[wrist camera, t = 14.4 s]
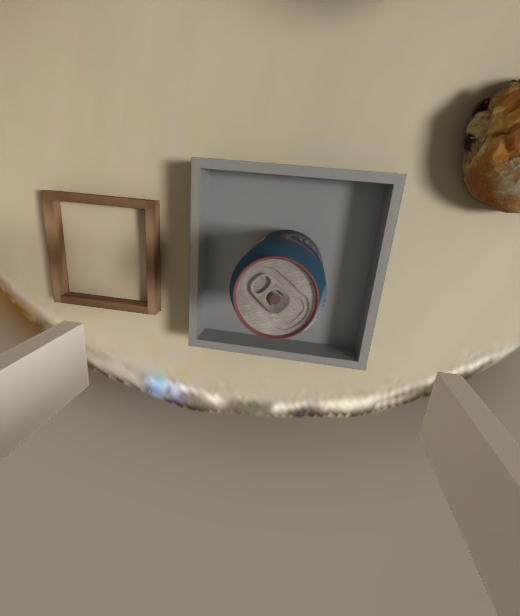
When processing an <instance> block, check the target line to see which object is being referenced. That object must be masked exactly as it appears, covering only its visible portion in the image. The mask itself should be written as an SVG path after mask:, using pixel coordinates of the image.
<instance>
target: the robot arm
mask: <svg viewBox="0 0 520 616" xmlns="http://www.w3.org/2000/svg"><path fill="white" fill-rule="evenodd" d="M87 369H88V368H87V358H86V348H85V338H84V327H83V323H79V322H72V321H63V322H61V323H59V324H57V325H55V326H53V327H51V328H49V329H47V330H45V331H44V332H42V333H40V334H38V335H36V336H34V337H32V338H30V339H29V340H26V341H25V342H22V343H21V344H19V345H17V346H15V347H13V348H11V349H9V350H7V351H5V352H3V353H1V354H0V462H1V461H2V460H3V459H4V458H5V457H7V456H8V455H9V454H10V453H11V452H12V451H14V450H15V449H16V448H17V447H18V446H19V445H20V444H22V443H23V442H24V441H25V440H26V439H27V438H28V437H30V436H31V435H32V434H33V433H34V432H35V431H37V430H38V429H39V428H40V427H41V426H42V425H44V424H45V423H46V422H47V421H48V420H49V419H50V418H51V417H53V416H54V415H55V414H56V413H57V412H58V411H60V409H62V408H63V407H64V406H65V405H67V404H68V403H69V402H70V401H71V400H72V399H73V398H75V397H76V396H77V395H78V394H79V393H80V392H81V391H83V390H84V389H85V388H86V387H87V386H88V385H89V379H88V370H87ZM419 439H420V441H421V443H422V446H423V448H424V450H425V452H426V454H427V457H428V459H429V461H430V464H431V466H432V468H433V470H434V473H435V475H436V477H437V479H438V482H439V484H440V486H441V488H442V490H443V493H444V495H445V497H446V500H447V502H448V504H449V506H450V509H451V511H452V513H453V515H454V518H455V520H456V522H457V524H458V527H459V529H460V531H461V533H462V536H463V538H464V540H465V542H466V545H467V547H468V549H469V551H470V553H471V556H472V558H473V560H474V563H475V565H476V567H477V570H478V572H479V574H480V576H481V578H482V581H483V583H484V585H485V588H486V590H487V592H488V594H489V596H490V599H491V601H492V603H493V605H494V608H495V610H496V612H497V615H498V616H520V446H519V445H518V444H517V442H516V441H515V440H514V439H513V438H512V436H511V435H510V434H509V433H508V432H507V430H506V429H505V428H504V427H503V425H502V424H501V423H500V422H499V421H498V419H497V418H496V417H495V416H494V415H493V413H492V412H491V411H490V410H489V408H488V407H487V406H486V405H485V404H484V402H483V401H482V400H481V399H480V398H479V397H478V395H477V394H476V393H475V392H474V390H473V389H472V388H471V387H470V386H469V384H468V383H467V382H466V381H465V379H464V378H463V377H462V376H461V375H457V374H450V373H443V372H437V376H436V379H435V382H434V386H433V389H432V393H431V396H430V400H429V403H428V406H427V410H426V414H425V417H424V420H423V424H422V427H421V430H420V434H419Z"/></svg>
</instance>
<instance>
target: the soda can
mask: <svg viewBox="0 0 520 616" xmlns="http://www.w3.org/2000/svg"><path fill="white" fill-rule="evenodd" d="M230 299H231V303H232V306H233V308H234V310H235V312H236V314H237V316H238V318H239V320H240V321H241V322H242V324H243V325H244V326H245V327H246V328H247V329H249V330H250V331H251V332H253V333H255V334H256V335H258V336H261V337H264V338H268V339H286V338H290V337H293V336H295V335H297V334H299V333H301V332H303V331H305V330H306V329H308V328H309V327H310V326H312V325H313V324H314V323H315V322H316V320H317V319H318V318H319V316H320V315H321V313H322V311H323V309H324V306H325V303H326V299H327V284H326V278H325V272H324V267H323V261H322V256H321V253H320V251H319V249H318V247H317V246H316V244H315V243H314V242H313V241H312V240H311V239H310V238H309V237H308V236H306V235H304V234H303V233H300V232H298V231H294V230H278V231H275V232H272V233H270V234H268V235H266V236H265V237H263V238H262V239H261V240H260V241H259V242H258V243H257V244H256V245H255V246H254V247H253V248H252V249H251V250H250V251H249V252H248V253H247V254H246V255H245V256H243V258H242V259H241V260H240V261H239V262H238V264H237V265H236V267H235V269H234V271H233V273H232V276H231V280H230Z"/></svg>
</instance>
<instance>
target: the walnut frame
mask: <svg viewBox="0 0 520 616" xmlns="http://www.w3.org/2000/svg"><path fill="white" fill-rule="evenodd" d="M41 198H42V206H43V214H44V222H45V231H46V239H47V247H48V255H49V263H50V271H51V279H52V288H53V296H54V302H60V303H68V304H75V305H83V306H90V307H98V308H106V309H113V310H121V311H128V312H136V313H143V314H151V315H156V314H157V313H158V312H160V311H161V280H160V205H159V201H156V200H146V199H135V198H125V197H115V196H104V195H94V194H83V193H73V192H62V191H52V190H41ZM60 201H69V202H79V203H89V204H99V205H109V206H119V207H129V208H139V209H145V224H146V261H147V298H148V302H144V301H136V300H129V299H121V298H113V297H105V296H97V295H90V294H82V293H74V292H69V284H68V275H67V265H66V256H65V246H64V237H63V228H62V218H61V209H60Z"/></svg>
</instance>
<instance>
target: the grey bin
mask: <svg viewBox="0 0 520 616" xmlns="http://www.w3.org/2000/svg"><path fill="white" fill-rule="evenodd" d="M406 175H407V174H397V173H384V172H372V171H360V170H347V169H335V168H323V167H310V166H298V165H285V164H273V163H261V162H248V161H236V160H224V159H211V158H199V157H191V217H190V280H189V344H188V346H195V347H202V348H209V349H217V350H224V351H231V352H238V353H245V354H252V355H259V356H267V357H274V358H281V359H288V360H295V361H302V362H309V363H316V364H324V365H331V366H338V367H345V368H352V369H359V370H365V369H366V365H367V360H368V355H369V350H370V346H371V341H372V336H373V332H374V327H375V322H376V317H377V313H378V308H379V303H380V298H381V294H382V289H383V284H384V280H385V275H386V270H387V265H388V261H389V256H390V251H391V246H392V242H393V237H394V232H395V228H396V223H397V218H398V213H399V209H400V204H401V199H402V194H403V190H404V185H405V180H406ZM278 230H294V231H298V232H300V233H303V234H304V235H306V236H308V237H309V238H310V239H311V240H312V241H313V242H314V243H315V244H316V246H317V247H318V249H319V251H320V253H321V256H322V261H323V267H324V272H325V278H326V284H327V299H326V303H325V306H324V309H323V311H322V313H321V315H320V316H319V318H318V319H317V320H316V322H315V323H314V324H313V325H312V326H310V327H309V328H308V329H306V330H305V331H303V332H301V333H299V334H297V335H295V336H293V337H290V338H286V339H268V338H264V337H261V336H258V335H256V334H255V333H253V332H251V331H250V330H249V329H247V328H246V327H245V326H244V325H243V324H242V322H241V321H240V320H239V318H238V316H237V314H236V312H235V310H234V308H233V306H232V303H231V299H230V280H231V276H232V273H233V271H234V269H235V267H236V265H237V264H238V262H239V261H240V260H241V259H242V258H243V256H245V255H246V254H247V253H248V252H249V251H250V250H251V249H252V248H253V247H254V246H255V245H256V244H257V243H258V242H259V241H260V240H261V239H262V238H263V237H265V236H266V235H268V234H270V233H272V232H275V231H278Z"/></svg>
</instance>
